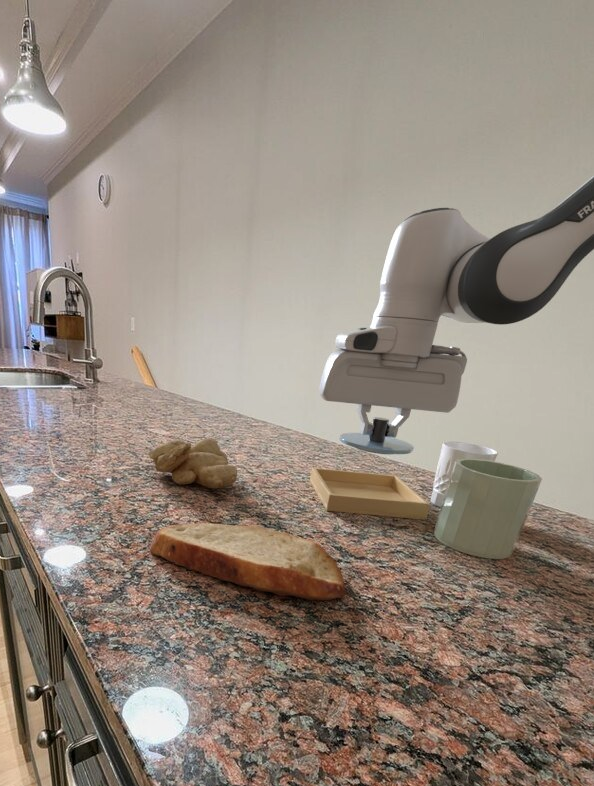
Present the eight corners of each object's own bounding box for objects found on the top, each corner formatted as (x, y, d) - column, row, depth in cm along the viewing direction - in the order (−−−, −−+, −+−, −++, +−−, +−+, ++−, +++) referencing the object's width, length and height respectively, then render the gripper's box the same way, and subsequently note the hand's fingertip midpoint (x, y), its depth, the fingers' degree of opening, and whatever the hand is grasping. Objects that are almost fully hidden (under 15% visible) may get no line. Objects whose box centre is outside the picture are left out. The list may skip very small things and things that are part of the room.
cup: (487, 530, 66) (511, 462, 62) (528, 562, 57) (560, 484, 53) (422, 524, 66) (442, 455, 62) (453, 555, 57) (479, 477, 53)
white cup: (487, 516, 72) (509, 456, 68) (439, 512, 71) (458, 451, 68) (462, 499, 79) (480, 443, 75) (418, 495, 79) (434, 439, 75)
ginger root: (153, 453, 83) (165, 412, 80) (232, 483, 83) (248, 443, 80) (127, 481, 69) (139, 433, 66) (222, 517, 69) (240, 471, 66)
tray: (392, 489, 81) (396, 475, 80) (425, 520, 68) (430, 504, 67) (309, 481, 81) (312, 467, 80) (326, 510, 68) (329, 494, 67)
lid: (396, 443, 76) (403, 415, 74) (423, 461, 66) (433, 429, 64) (331, 437, 76) (337, 409, 74) (348, 454, 66) (355, 422, 64)
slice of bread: (142, 540, 53) (143, 511, 52) (272, 526, 60) (276, 500, 59) (198, 632, 38) (202, 594, 37) (363, 599, 45) (371, 567, 44)
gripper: (459, 347, 68) (434, 437, 73) (326, 334, 68) (310, 425, 73) (482, 349, 62) (452, 446, 67) (335, 335, 62) (317, 433, 67)
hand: (377, 435), depth 70 cm, fingers closed on lid, 2 cm apart
